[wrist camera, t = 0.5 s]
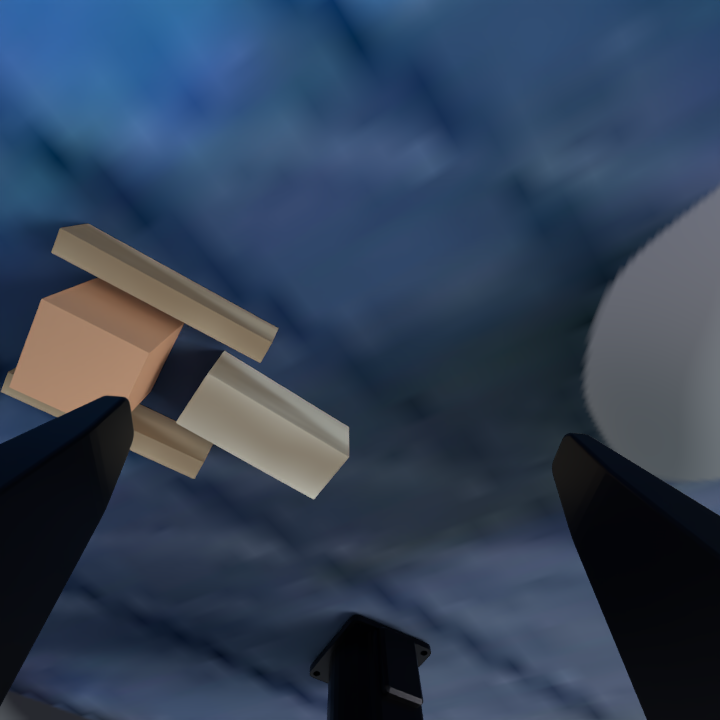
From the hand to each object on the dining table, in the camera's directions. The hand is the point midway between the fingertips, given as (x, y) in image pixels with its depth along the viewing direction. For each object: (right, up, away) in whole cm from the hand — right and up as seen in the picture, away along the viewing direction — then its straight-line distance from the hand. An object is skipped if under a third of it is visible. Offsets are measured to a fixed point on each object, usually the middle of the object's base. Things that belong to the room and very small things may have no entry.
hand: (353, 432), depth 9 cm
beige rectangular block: (-5, -1, +16) cm, 17 cm away
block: (-12, +3, +14) cm, 19 cm away
